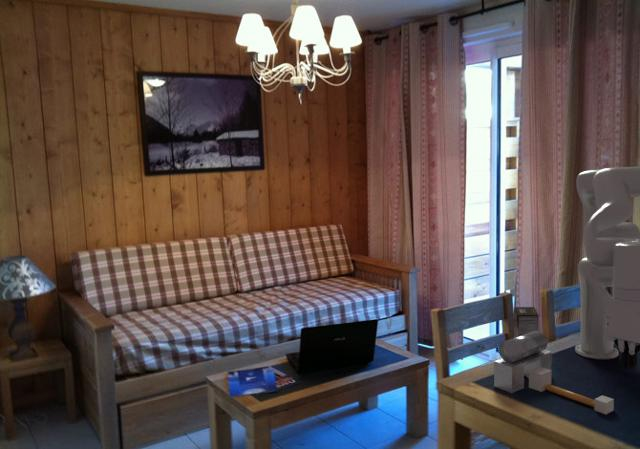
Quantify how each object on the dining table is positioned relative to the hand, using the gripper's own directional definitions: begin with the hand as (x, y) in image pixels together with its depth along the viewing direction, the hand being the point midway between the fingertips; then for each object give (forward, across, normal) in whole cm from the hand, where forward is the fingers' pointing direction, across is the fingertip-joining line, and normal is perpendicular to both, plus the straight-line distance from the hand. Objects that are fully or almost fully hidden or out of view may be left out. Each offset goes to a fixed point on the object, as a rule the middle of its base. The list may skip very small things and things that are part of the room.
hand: (629, 368), depth 136 cm
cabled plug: (+13, +17, 0) cm, 21 cm away
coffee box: (+13, +40, -16) cm, 45 cm away
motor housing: (+13, +30, 0) cm, 33 cm away
